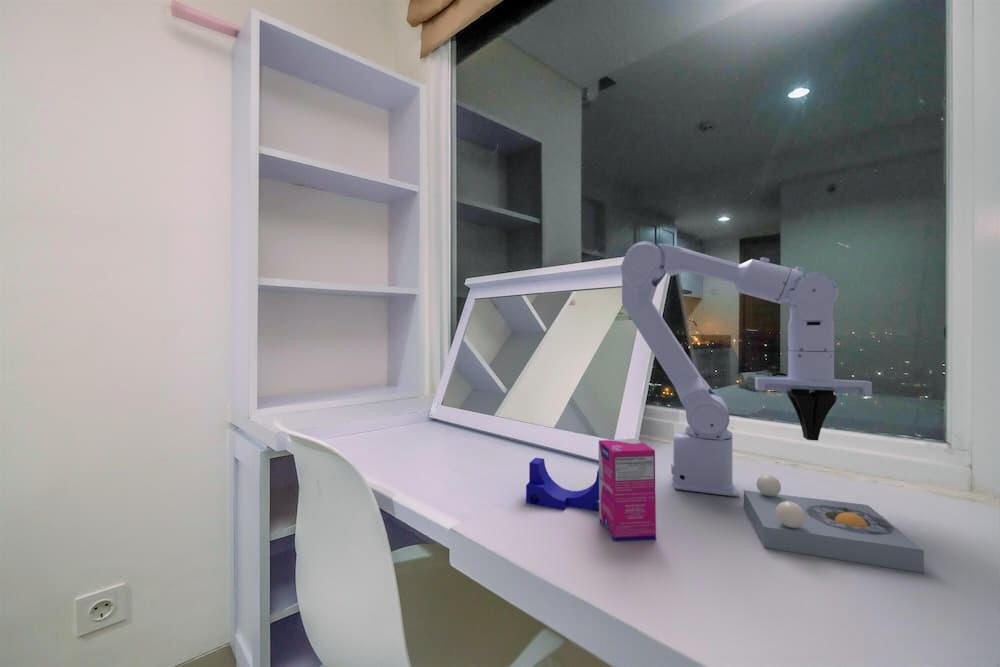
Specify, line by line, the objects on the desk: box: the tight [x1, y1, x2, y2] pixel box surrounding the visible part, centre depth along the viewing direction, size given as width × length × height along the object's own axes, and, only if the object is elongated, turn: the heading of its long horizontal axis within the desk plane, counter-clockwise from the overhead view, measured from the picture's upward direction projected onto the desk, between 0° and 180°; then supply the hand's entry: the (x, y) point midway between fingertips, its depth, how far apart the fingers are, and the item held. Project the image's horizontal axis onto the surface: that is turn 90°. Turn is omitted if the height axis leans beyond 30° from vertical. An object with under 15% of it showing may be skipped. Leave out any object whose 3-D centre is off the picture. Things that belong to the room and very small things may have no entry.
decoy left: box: [756, 474, 782, 497], centre depth 61 cm, size 3×3×3 cm
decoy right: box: [776, 501, 806, 528], centre depth 51 cm, size 3×3×3 cm
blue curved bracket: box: [525, 457, 599, 513], centre depth 63 cm, size 12×4×6 cm, turn 67°
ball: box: [834, 512, 868, 527], centre depth 52 cm, size 3×3×3 cm
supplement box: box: [598, 438, 657, 542], centre depth 55 cm, size 6×6×12 cm
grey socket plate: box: [743, 489, 925, 574], centre depth 54 cm, size 15×13×2 cm
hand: (810, 438), depth 64 cm, fingers closed
